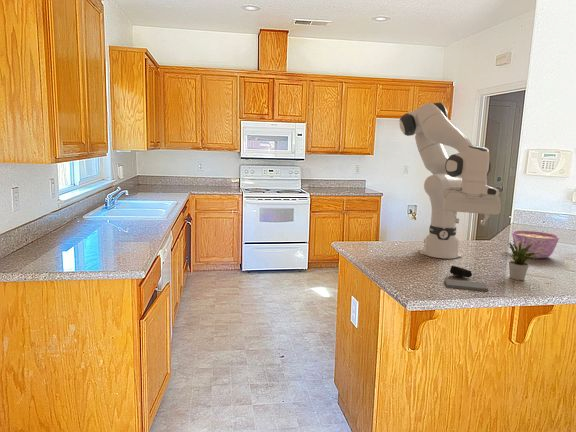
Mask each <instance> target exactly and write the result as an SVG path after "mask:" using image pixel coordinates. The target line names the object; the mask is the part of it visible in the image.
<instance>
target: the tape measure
mask: <svg viewBox="0 0 576 432" xmlns="http://www.w3.org/2000/svg"><path fill="white" fill-rule="evenodd" d="M449 273H450V274H452V276H454V277H460V278H471V277H472V276H473V273H472V271H471V270H468V269H466V268H464V267H460V266H455V265H451V267H450V269H449Z"/></svg>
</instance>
